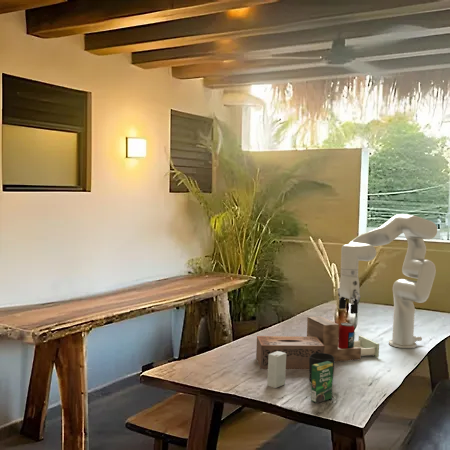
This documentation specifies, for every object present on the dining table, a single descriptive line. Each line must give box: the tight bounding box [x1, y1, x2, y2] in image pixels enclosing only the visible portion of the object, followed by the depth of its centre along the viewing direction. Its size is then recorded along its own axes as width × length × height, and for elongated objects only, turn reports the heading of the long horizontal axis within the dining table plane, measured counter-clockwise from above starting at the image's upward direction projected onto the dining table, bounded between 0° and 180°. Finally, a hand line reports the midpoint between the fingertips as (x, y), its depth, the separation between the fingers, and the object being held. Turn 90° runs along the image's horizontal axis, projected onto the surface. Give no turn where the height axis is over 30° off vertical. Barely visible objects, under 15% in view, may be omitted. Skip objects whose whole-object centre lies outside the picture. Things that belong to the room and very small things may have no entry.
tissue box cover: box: [255, 335, 325, 370], centre depth 241 cm, size 26×14×10 cm, turn 94°
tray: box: [338, 334, 380, 358], centre depth 258 cm, size 19×15×6 cm
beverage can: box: [338, 322, 355, 349], centre depth 257 cm, size 7×7×12 cm
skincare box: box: [266, 351, 287, 389], centre depth 215 cm, size 6×4×12 cm
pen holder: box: [308, 353, 335, 383], centre depth 219 cm, size 9×9×10 cm
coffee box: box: [310, 361, 334, 404], centre depth 200 cm, size 8×3×13 cm, turn 125°
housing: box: [306, 315, 362, 363], centre depth 255 cm, size 18×16×16 cm
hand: (348, 311), depth 256 cm, fingers open, 9 cm apart
